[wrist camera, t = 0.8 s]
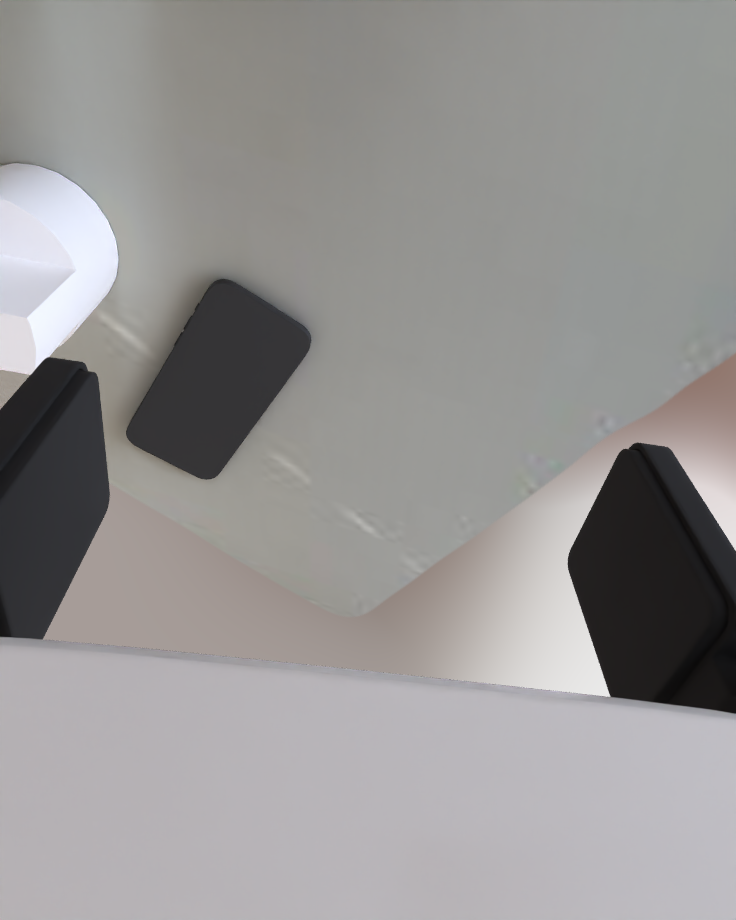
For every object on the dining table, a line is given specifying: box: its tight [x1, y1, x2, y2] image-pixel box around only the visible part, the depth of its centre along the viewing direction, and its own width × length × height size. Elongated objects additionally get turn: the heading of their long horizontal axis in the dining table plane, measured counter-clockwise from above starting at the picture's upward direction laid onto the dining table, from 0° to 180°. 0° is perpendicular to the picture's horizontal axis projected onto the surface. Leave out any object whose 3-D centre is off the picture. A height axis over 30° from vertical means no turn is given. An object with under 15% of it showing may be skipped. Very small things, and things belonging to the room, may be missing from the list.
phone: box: [126, 279, 311, 479], centre depth 44 cm, size 7×1×15 cm
